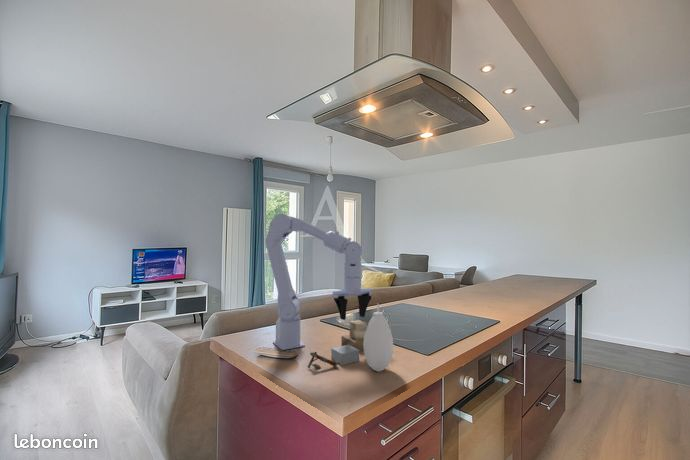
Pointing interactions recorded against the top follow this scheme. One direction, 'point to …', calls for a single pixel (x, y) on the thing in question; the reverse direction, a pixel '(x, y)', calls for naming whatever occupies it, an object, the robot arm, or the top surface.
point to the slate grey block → (345, 354)
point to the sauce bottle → (378, 342)
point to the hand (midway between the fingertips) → (352, 317)
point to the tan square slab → (352, 342)
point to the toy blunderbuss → (333, 363)
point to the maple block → (357, 329)
